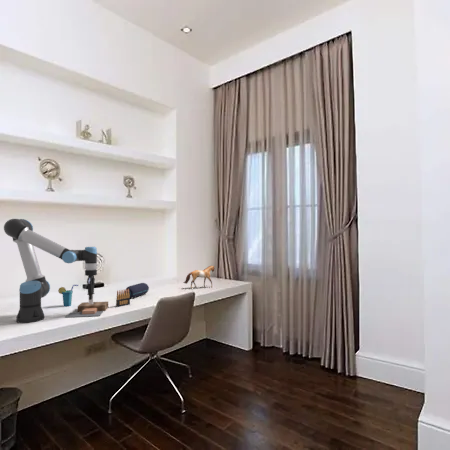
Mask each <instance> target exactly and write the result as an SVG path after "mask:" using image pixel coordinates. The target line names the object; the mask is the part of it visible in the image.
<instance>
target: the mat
mask: <svg viewBox="0 0 450 450" xmlns="http://www.w3.org/2000/svg"><path fill="white" fill-rule="evenodd" d="M103 312H104V311H97V312H96V313H95V314H82V312H78V311H77V312H76V311H75V312H74V311H73V312H69V313H68V314H67V315H66V316H64V318H65V319H66V318H67V319H68V318H71V319H72V318H85V317H86V318H87V317H88V318H89V317H92V318H93V317H101V316H102V314H103Z"/></svg>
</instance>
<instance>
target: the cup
mask: <svg viewBox="0 0 450 450" xmlns="http://www.w3.org/2000/svg"><path fill="white" fill-rule="evenodd" d="M75 286H76V287H79V284H72V287H71V289H70V290H67V289H66V288H65V287H63V286H61V287H59V288H58V293H59V294H60V295H62V301H63V302H62V304H63V307H64V308H65V307H71V306H72V301H73V289H74V287H75Z"/></svg>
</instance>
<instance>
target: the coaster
mask: <svg viewBox="0 0 450 450" xmlns="http://www.w3.org/2000/svg"><path fill="white" fill-rule="evenodd" d="M96 312H97V308H85V309H84V310H83V311H82V314H95V313H96Z"/></svg>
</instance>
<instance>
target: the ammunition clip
mask: <svg viewBox="0 0 450 450" xmlns="http://www.w3.org/2000/svg"><path fill="white" fill-rule="evenodd" d="M125 290H126V291H125ZM125 306H131V298H129V289H128V291H127V289H126V288H125V289H121V290H118V289H117V291H116V301H115V307H117V308H120V307H125Z"/></svg>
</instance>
